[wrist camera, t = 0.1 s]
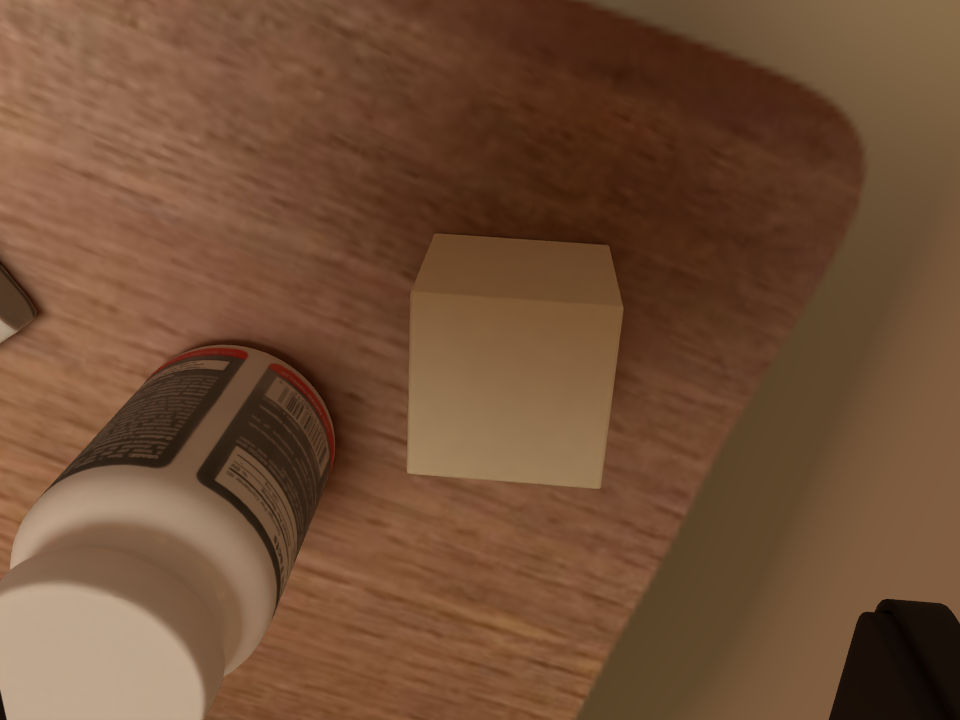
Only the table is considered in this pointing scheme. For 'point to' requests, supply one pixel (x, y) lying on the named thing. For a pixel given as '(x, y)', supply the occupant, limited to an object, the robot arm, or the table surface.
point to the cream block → (512, 360)
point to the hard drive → (13, 307)
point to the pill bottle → (165, 543)
